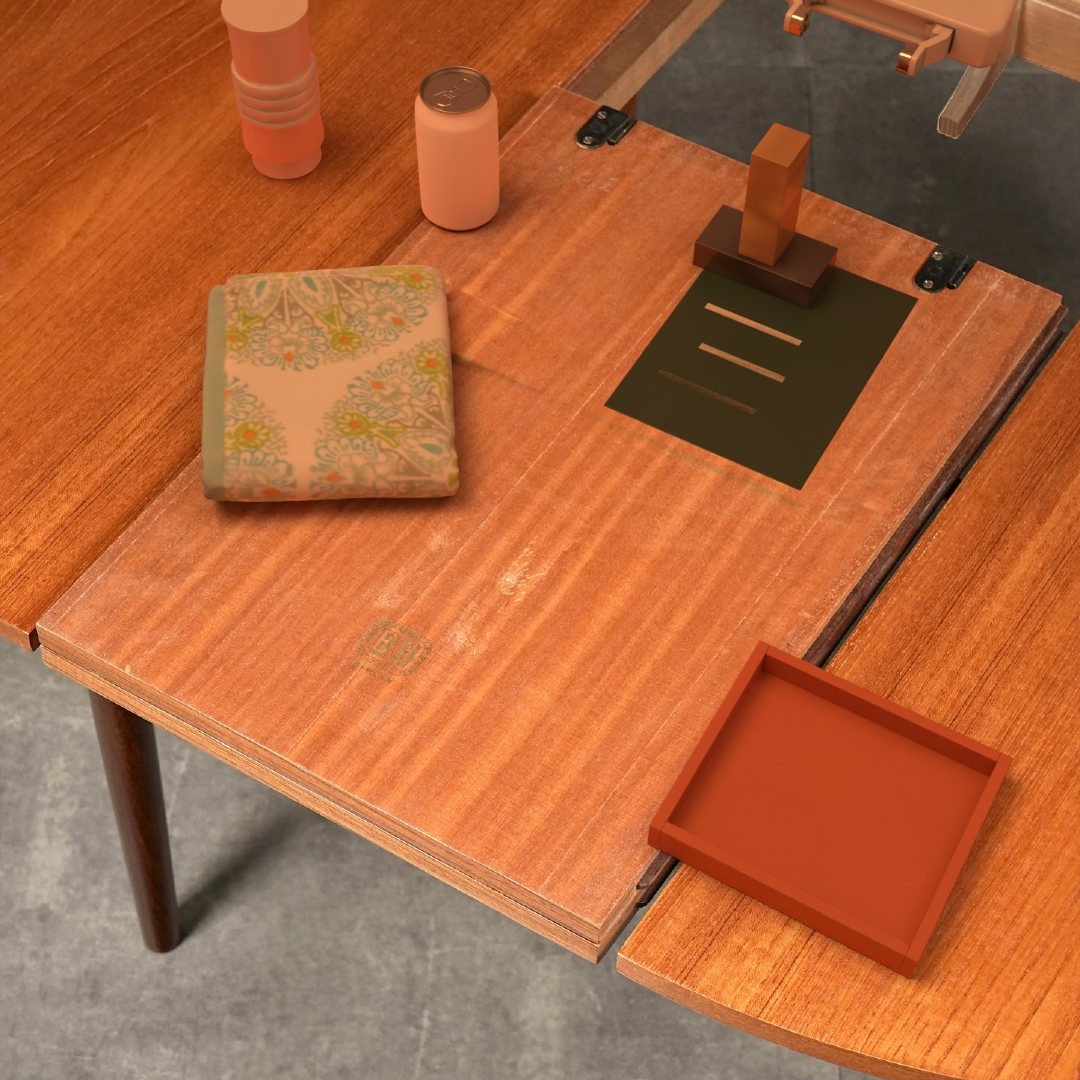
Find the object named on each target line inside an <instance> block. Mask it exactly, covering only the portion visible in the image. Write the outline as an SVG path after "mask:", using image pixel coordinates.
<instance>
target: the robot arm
mask: <svg viewBox="0 0 1080 1080" xmlns="http://www.w3.org/2000/svg"><path fill="white" fill-rule="evenodd" d="M782 1H783V2H786V3H788V6H787V7H788V11H787V12H786V14H785V15H784V16H785V17H784V21H783V28H782V30H783V32H785V33H788V34H790V35H793V36H796V37H802V36H803V35H804V33H805V32H806V31H807V30H808V28H809V27H810V22H811V20H810V17H811V16H812V12H815V13H818V14H821V15H824V16H827V17H829V18H832V19H835V20H838V21H840V22H843V23H846V24H850V25H852V26H855V27H859V28H861V29H863V30H866V31H869V32H873V33H875V34H878V35H881V36H884V37H887V38H889V39H892V40H896V41H898V42H901V43H904V44H905V45H904V47H903V48H902V49H901V51H900V52H899V54H898V58H897V64H896V66H895V71H896V72H899V73H901V74H904V75H907V76H909V77H912V78H914V77H916V76H917V73H918V72H919V70H920V69H921V67H922V68H923V67H924V68H925V67H926V66H930V65H934V64H936V63H939V62H942V61H943V60H945V58H947V59H951V60H953V61H955V62H959V63H961V64H965V65H967V66H970V67H973V68H975V69H984V68H989V67H992V66H994V65H995V64H996V63H997V62H998V61H999V58H1000V56H1001V54H1002V53H1003V50H1004V48H1005V45H1006V43H1007V39H1008V36H1009V33H1010V29H1011V25H1012V22H1013V19H1014V15H1015V11H1016V7H1017V3H1018V0H782Z"/></svg>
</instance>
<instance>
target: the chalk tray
mask: <svg viewBox="0 0 1080 1080" xmlns="http://www.w3.org/2000/svg"><path fill="white" fill-rule="evenodd" d="M1013 760H1014V757H1013V756H1011V755H1009V754H1006V753H1004V752H1002V751H1000V750H997V749H996V748H993V747H991V746H989V745H987V744H984V743H982V742H981V741H977V740H976V739H974V738H972V737H970V736H968V735H965V734H963V733H960V732H959V731H957V730H954V729H952V728H950V727H948V726H946V725H943V724H941V723H940V722H938V721H935V720H933V719H931V718H928V717H926V716H925V715H922V714H920V713H918V712H916V711H913V710H911V709H909V708H908V707H905V706H903V705H900V704H898V703H896V702H894V701H892V700H889V699H887V698H885V697H884V696H881V695H879V694H877V693H874V692H873V691H870V690H868V689H866V688H864V687H862V686H859V685H857V684H855V683H853V682H851V681H850V680H847V679H845V678H843V677H841V676H838V675H836V674H834V673H832V672H830V671H827V670H825V669H823V668H821V667H819V666H816V665H814V664H812V663H810V662H808V661H806V660H803V659H802V658H799V657H797V656H795V655H794V654H791V653H788V652H787V651H785V650H783V649H780V648H779V647H776V646H774V645H771V644H769V643H768V642H765V641H764V640H761V639H760V640H758V642H757V644H756V646H755V647H754V648H753V650H752V652H751V654H750V656H749V657H748V659H747V661H746V662H745V663H744V665H743V667H742V669H741V670H740V672H739V674H738V676H737V677H736V679H735V680H734V682H733V684H732V685H731V688H730V689H729V691H728V692H727V694H726V695H725V697H724V699H723V701H722V702H721V704H720V705H719V707H718V709H717V711H716V712H715V714H714V715H713V718H711V721H710V723H709V725H708V726H707V728H706V729H705V731H704V733H703V734H702V736H701V737H700V739H699V741H698V743H697V745H696V746H695V748H694V749H693V751H692V753H691V754H690V756H689V758H688V759H687V761H686V763H685V764H684V766H683V768H682V769H681V770H680V772H679V775H678V776H677V778H676V779H675V781H674V783H673V784H672V786H671V787H670V789H669V790H668V793H667V795H666V796H665V797H664V800H662V803H661V805H660V806H659V808H658V810H657V811H656V813H655V815H654V816H653V818H652V819H651V821H650V823H649V826H648V834H647V843H646V844H647V845H649V846H652V847H654V848H655V849H657V850H659V851H661V852H663V853H665V854H667V855H669V856H670V857H672V858H674V859H677V861H680V862H682V863H684V864H687V865H688V866H690V867H692V868H694V869H695V870H698V871H700V872H702V873H704V874H706V875H708V876H709V877H711V878H713V879H715V880H717V881H719V882H721V883H723V884H725V885H727V886H728V887H731V888H733V889H734V890H737V891H739V892H741V893H743V894H745V895H746V896H749V897H750V898H752V899H754V900H756V901H758V902H760V903H762V904H763V905H765V906H768V907H769V908H772V909H774V910H776V911H778V912H780V913H781V914H783V915H785V916H787V917H788V918H791V919H793V920H795V921H796V922H798V923H801V924H803V925H805V926H807V927H809V928H810V929H812V930H815V931H817V932H818V933H820V934H822V935H824V936H826V937H828V938H830V939H832V940H834V941H836V942H837V943H839V944H841V945H844V946H846V947H847V948H849V949H851V950H853V951H855V952H857V953H858V954H861V955H863V956H865V957H867V958H869V959H870V960H873V961H875V962H877V963H878V964H880V965H882V966H884V967H886V968H888V969H889V970H892V971H894V972H896V973H897V974H900V975H901V976H903V977H906V978H908V979H912V978H913V975H914V973H915V971H916V968H917V966H918V965H919V963H920V960H921V958H922V957H923V954H924V952H925V950H926V947H927V946H928V943H929V941H930V939H931V936H932V935H933V933H934V930H935V928H936V925H937V924H938V922H939V919H940V917H941V915H942V913H943V911H944V909H945V907H946V905H947V902H948V901H949V898H950V896H951V894H952V892H953V890H954V887H955V885H956V884H957V881H958V878H959V876H960V875H961V872H962V870H963V868H964V865H965V863H966V861H967V859H968V857H969V855H970V853H971V851H972V848H973V846H974V844H975V842H976V840H977V838H978V836H979V834H980V832H981V829H982V827H983V825H984V823H985V821H986V819H987V816H988V814H989V812H990V810H991V809H992V806H993V803H994V802H995V800H996V797H997V795H998V793H999V791H1000V789H1001V786H1002V784H1003V782H1004V780H1005V778H1006V776H1007V773H1008V772H1009V770H1010V767H1011V765H1012V763H1013Z"/></svg>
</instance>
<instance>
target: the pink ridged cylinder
mask: <svg viewBox="0 0 1080 1080" xmlns="http://www.w3.org/2000/svg"><path fill="white" fill-rule="evenodd" d="M309 5H310V4H309V0H221V4H220V12H221V18H222V20H223V22H224V23H225V24H226V27H227V33H228V39H229V45H230V50H231V56H232V58H231V62H230V67H229V68H230V74H231V81H232V85H233V91H234V92H233V93H234V98H235V105H236V109H237V113H238V115H239V116H240V118H241V125H242V126H241V127H242V140H243V145H244V147H245V148H246V150H247V152H248V153H249V154H250V155H251V162H252V163H251V164H252V165H253V167H254V168H255V170H256V171H257V172H259V173H260V174H261V175H263V176H266V177H267V178H271V179H275V180H293V179H298V178H300V177H301V178H302V177H303V176H306V175H307V174H310V173H311V172H313V171H314V170H315V169H316V168H317V167H318V166H319V164H320V162H321V160H322V157H323V152H322V147H321V146H322V144H323V142H324V140H325V134H326V133H325V128H324V125H323V122H322V116H321V112H320V109H321V104H322V95H321V92H320V89H321V87H320V82H319V73H318V69H317V68H318V64H317V58H316V54H315V53H314V52H313V50H312V47H311V42H310V33H309V25H308V24H309V23H308V13H309V9H310V6H309Z"/></svg>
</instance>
